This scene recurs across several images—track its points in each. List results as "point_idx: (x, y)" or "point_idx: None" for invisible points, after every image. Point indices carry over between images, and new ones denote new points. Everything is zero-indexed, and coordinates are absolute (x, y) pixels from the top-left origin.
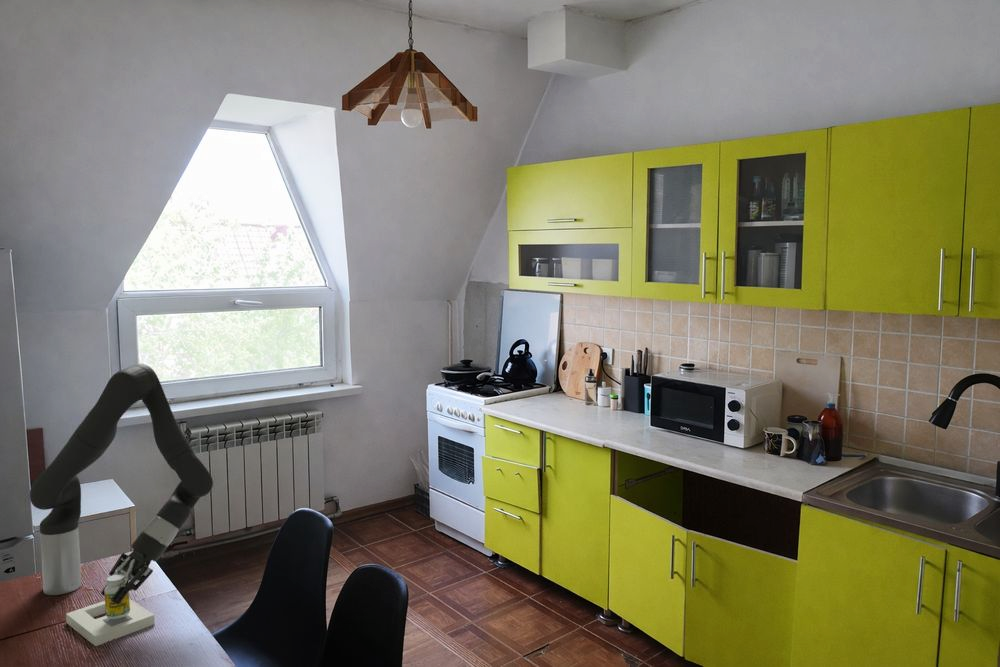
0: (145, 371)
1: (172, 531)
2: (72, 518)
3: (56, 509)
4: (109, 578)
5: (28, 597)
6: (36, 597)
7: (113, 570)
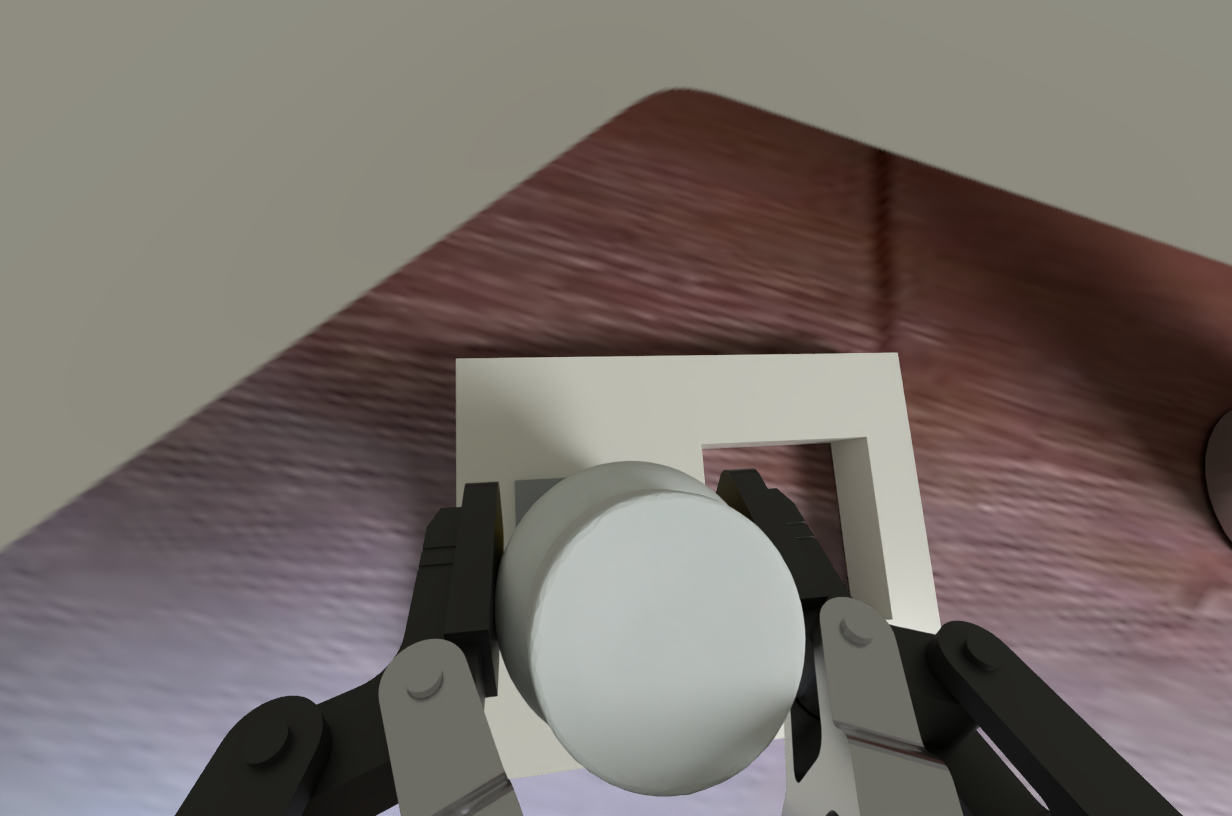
0: None
1: None
2: None
3: None
4: (707, 540)
5: None
6: (1229, 366)
7: (994, 703)
